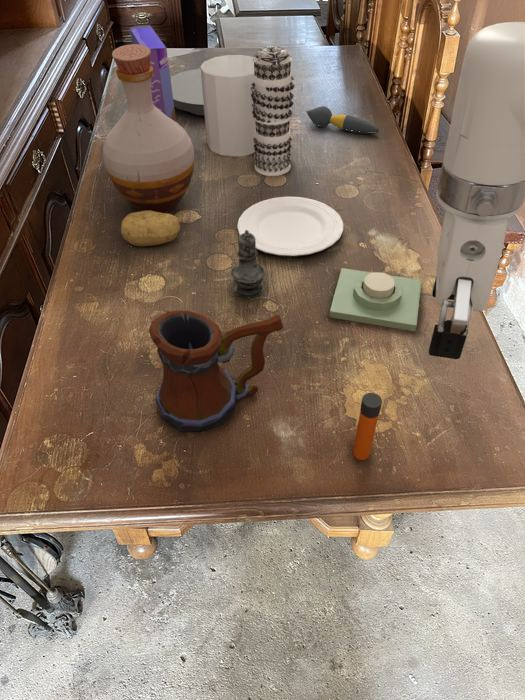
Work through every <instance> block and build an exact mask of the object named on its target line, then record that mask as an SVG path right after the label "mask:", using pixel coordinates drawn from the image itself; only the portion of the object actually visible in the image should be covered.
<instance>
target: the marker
mask: <svg viewBox="0 0 525 700" xmlns="http://www.w3.org/2000/svg"><path fill="white" fill-rule="evenodd" d="M382 406H383V399H382V398H381V396H380V395H379V394H377V393H375V392H366V393H365V394H364V395H363V396H362V399H361V403H360V408H359V409H360V410H359V417H358V421H357V427H356V432H355V437H354V443H353V447H352V448H353V449H352V454H353V457H354V458H355V459H357V460H360V461H364V460H368V459H369V457H370V454H371V450H372V446H373V442H374V437H375V433H376V428H377V424H378V420H379V415H380V412H381V409H382Z"/></svg>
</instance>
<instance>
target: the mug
mask: <svg viewBox="0 0 525 700" xmlns="http://www.w3.org/2000/svg"><path fill="white" fill-rule="evenodd" d="M283 329H284V326H283V321H282V318H281V315H280V314H275V315H272V316H271V317H269V318H267V319H264V320H260V321H257V322H252V323H247V324H243V325H240V326H237V327H235V328H233V329H231V330H229V331H227V332H225V333H224V334H223V335H222V331H221V329H220V327H219V324H217V323H216V322H214V321H213V320H211V319H210V318H208V317H207V316H206V315H203V314H200V313H197V312H194V311H190V310H183V309H182V310H172V311H171V310H170V311H169V310H168V311H165V312H164V313H163V314H161V315H159V316H157V317H156V318H154V320H152V321H151V323H150V326H149V328H148V333H149V335H150V336H149V337H150V339H151V340H152V342H153V343H154V344H155V346H156V347H157V349H156V353H157V355H158V358H159V360H160V361H161V363H162V373H163V374H162V375H163V377H162V381H161V382H160V385H159V388H158V391H157V393H156V397H155V403H156V406H157V408H158V410H159V412H160V415H161V418H162V420H164V421H165V422H166V423H167V424H169V425H170V426H172V427H174V428H175V429H176V430H178V431H179V432H193V431H194V432H202V431H206V430H209V429H211V428H215V427H218V426H221V425H223V423H224V422H225V421H226V420H227V419H228V418H229V417H230V416H231V415H232V414H233V413H234V412H235V411H236V407H237V401H238V400H240V399H242V398H245V397H248V396H254V395H255V394H256V393H257V391H258V390H259V386H258V385H251V386H249V385H248V384H247V382H248V381H249V380H251V379H253V378H254V377H256V376H257V375H259V374H260V373H262V372H263V371H264V369H265V364H266V359H265V354H264V345H265V342H266V339H267V337H268V336H269V335H270V334H272V333H275V332H278V331H282V330H283ZM250 336H255V337H254V338H253V340H252V341H251V342H252V343H251V346H250V360H251V364H250V366H248V368H246V369H245V370H244V371H243V372H242V373H240V375H239V376H238V378H237V379H236V380H235V381H234V380H233V378H232V376H231V374H230V373H229V371H227V370H225V369H223V368H222V367H221V366H220V365H219V363H222V364H226V363H229V362H230V361H231V358H233V356H234V354H235V347H234V345H233V343H234V342H235V341H238V340H239V339H242V338H246V337H250Z"/></svg>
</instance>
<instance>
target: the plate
mask: <svg viewBox="0 0 525 700" xmlns="http://www.w3.org/2000/svg"><path fill="white" fill-rule="evenodd" d="M236 227H237V231H238V235H239V236H240V235H241V234H243V233H245V231H246V230H248V232H249V233H251V234H253V235H254V236H255V241H256V250H257V251H260V252H263V253H265V254H269V255H273V256H277V257H292V258H295V257H303V256H304V257H305V256H309V255H314V254H317V253H321V252H323V251H325V250H326V249H328V248H330V247H332V246H333V245H335V244H336V243H337V242H338V241H339V240H340V238H341V236H342V234H343V233H344V221H343V219H342V217H341V215H340V214H339V213H338V212H337V211H336V210H335V209H334V208H333V207H331V206H329V205H328V204H326V203H324V202H321V201H319V200H315V199H313V198H308V197H302V196H277V197H271V198H268V199H264V200H261V201H259V202H256V203H254V204H252V205H251V206H249V207H248V208H247V209H245V210H244V211H243V212H242V214H241V215H240V216H239V217H238V221H237V225H236Z"/></svg>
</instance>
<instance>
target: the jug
mask: <svg viewBox="0 0 525 700" xmlns="http://www.w3.org/2000/svg"><path fill="white" fill-rule="evenodd" d="M111 56H112V59H113V60H114V61H113V62H115V65H116V67H117V68H116V69H115V73H116V77H117V79H118V80H120V82H121V84H122V85H121V86H122V87H123V90H124V92H125V93H124V94H125V97H126V102H127V107H126V108H127V109H126V110H125V111H124V113H123V114H122V116H121V117H120V119H119V120H118V121H117V122H116V123H115V124H114V126H113V127H112V128H111V130H110V131H109V132H108V134H107V135H106V138H105V140H104V143H103V146H102V160H103V163H104V167H105V170H106V174H107V175H108V177H109V178H110V181H111V183H112V185H113V186H114V188H115V189H116V190H117V191H118V193H119V195H120V196H121V197H122V198H124V199H125V200H126V201H127V202H129V203H130V204H131V205H132V206H134V207H135V208H137V209H138V210H139V211H140V212H141V211H150V210H151V211H155V212H160V213H168V212H170V211H172V210H173V209H175V208H176V206H177V205H178V203H180V202H181V200H182V198H183V197H184V195H185V194H186V193H187V191H188V189H189V188H190V185H191V181H192V177H193V173H194V169H195V167H194V166H195V148H194V146H193V142H192V139H191V137H190V135H189V134H188V133H187V132H186V130H185V129H184V127H182V125H180V124H179V123H178V122H177V121H176V122H175V121H173V120H172V119H170V118H169V117H167V116H166V115H165V114H164V113H162V112H161V111H160V110H159V109H158V108H156V107H155V106H154V104H153V101H152V93H151V77H152V76H153V67H152V66H151V65H150V58H151V50H150V48H148V47H147V46H144V45H139V44H132V43H131V44H125V45H124V44H123V45H121V46H118V47H116V48H114V49H113V51H112V53H111Z"/></svg>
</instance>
